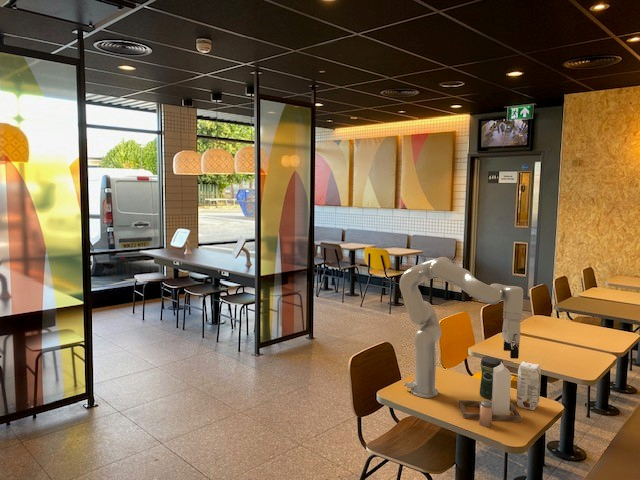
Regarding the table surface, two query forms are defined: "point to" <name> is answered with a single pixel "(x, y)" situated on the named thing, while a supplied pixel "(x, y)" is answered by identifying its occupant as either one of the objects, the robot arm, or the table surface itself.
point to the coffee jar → (488, 375)
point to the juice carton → (528, 385)
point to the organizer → (494, 416)
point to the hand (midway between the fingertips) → (510, 354)
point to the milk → (501, 390)
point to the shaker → (485, 414)
